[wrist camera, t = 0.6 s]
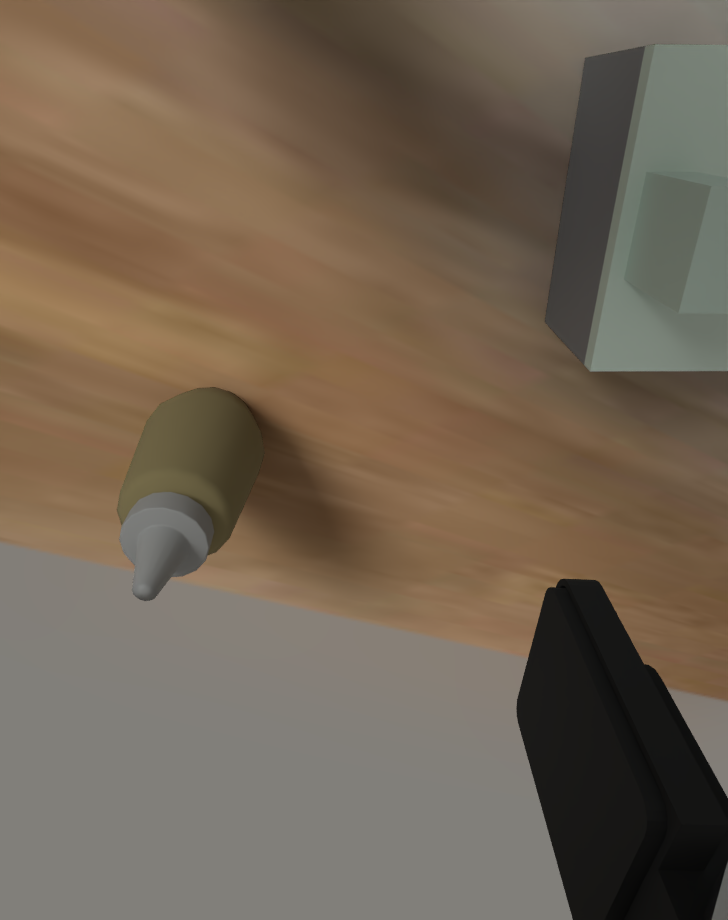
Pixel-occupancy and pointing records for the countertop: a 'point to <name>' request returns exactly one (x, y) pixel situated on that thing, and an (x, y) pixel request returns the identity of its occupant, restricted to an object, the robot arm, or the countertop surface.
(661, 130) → the lid
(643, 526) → the countertop surface
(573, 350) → the tub
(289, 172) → the countertop surface
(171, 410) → the squeeze bottle
